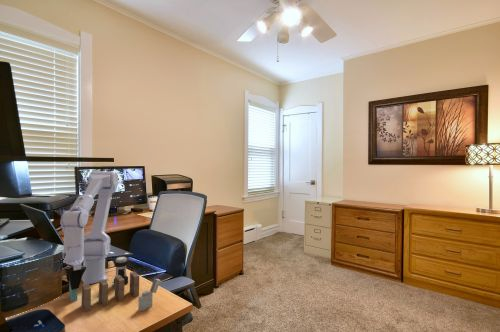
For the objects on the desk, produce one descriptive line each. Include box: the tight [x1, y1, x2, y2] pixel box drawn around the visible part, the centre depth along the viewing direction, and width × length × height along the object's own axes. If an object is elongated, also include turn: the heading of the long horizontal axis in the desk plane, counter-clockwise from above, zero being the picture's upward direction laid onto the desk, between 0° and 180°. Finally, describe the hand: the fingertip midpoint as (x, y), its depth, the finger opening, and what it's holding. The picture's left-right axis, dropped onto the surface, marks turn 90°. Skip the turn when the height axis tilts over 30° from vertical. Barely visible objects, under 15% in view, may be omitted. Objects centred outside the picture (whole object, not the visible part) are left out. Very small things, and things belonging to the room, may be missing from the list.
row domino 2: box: [98, 279, 109, 307], centre depth 89 cm, size 5×2×7 cm, turn 42°
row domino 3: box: [114, 275, 125, 302], centre depth 92 cm, size 5×2×7 cm, turn 42°
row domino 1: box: [81, 283, 92, 313], centre depth 85 cm, size 5×2×7 cm, turn 42°
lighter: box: [137, 278, 161, 312], centre depth 87 cm, size 7×2×8 cm, turn 146°
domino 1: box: [68, 280, 78, 303], centre depth 91 cm, size 5×2×7 cm, turn 42°
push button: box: [108, 256, 130, 287], centre depth 102 cm, size 7×5×10 cm
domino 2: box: [129, 271, 140, 298], centre depth 95 cm, size 5×2×7 cm, turn 42°
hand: (73, 284), depth 91 cm, fingers open, 7 cm apart
